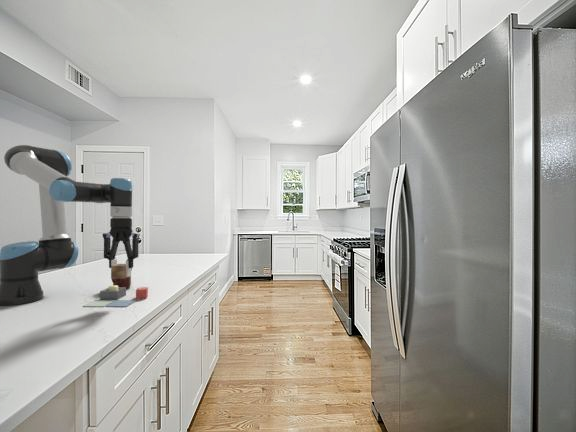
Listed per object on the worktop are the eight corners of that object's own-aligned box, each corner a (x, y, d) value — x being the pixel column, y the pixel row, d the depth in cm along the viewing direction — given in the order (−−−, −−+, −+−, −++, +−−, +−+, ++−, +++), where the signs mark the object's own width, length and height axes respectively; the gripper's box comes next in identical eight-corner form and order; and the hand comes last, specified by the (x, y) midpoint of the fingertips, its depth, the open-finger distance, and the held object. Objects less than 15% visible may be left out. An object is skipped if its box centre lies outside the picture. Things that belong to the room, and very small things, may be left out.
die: (135, 299, 127) (135, 288, 127) (137, 296, 131) (137, 286, 130) (146, 298, 128) (146, 288, 128) (147, 296, 132) (147, 286, 132)
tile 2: (105, 306, 116) (105, 306, 116) (116, 300, 124) (116, 300, 124) (126, 307, 116) (126, 306, 116) (136, 300, 124) (136, 300, 124)
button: (106, 296, 127) (106, 287, 127) (111, 294, 131) (111, 285, 131) (115, 296, 127) (115, 287, 127) (120, 294, 131) (120, 285, 131)
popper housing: (100, 299, 125) (100, 291, 125) (109, 295, 132) (109, 287, 132) (117, 299, 125) (117, 291, 125) (125, 295, 132) (126, 287, 132)
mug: (118, 286, 148) (118, 265, 148) (136, 286, 148) (136, 265, 148) (102, 292, 136) (102, 270, 136) (122, 293, 136) (122, 270, 136)
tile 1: (82, 306, 116) (82, 305, 116) (95, 300, 124) (95, 299, 124) (103, 306, 116) (103, 306, 116) (115, 300, 124) (115, 300, 124)
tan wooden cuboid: (111, 278, 117) (111, 265, 117) (118, 276, 122) (118, 263, 122) (124, 278, 117) (124, 265, 117) (130, 276, 122) (130, 263, 122)
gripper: (92, 217, 116) (92, 278, 116) (139, 217, 116) (139, 278, 116) (103, 217, 123) (103, 274, 123) (148, 217, 124) (148, 274, 124)
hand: (121, 276), depth 120 cm, fingers closed on tan wooden cuboid, 5 cm apart
